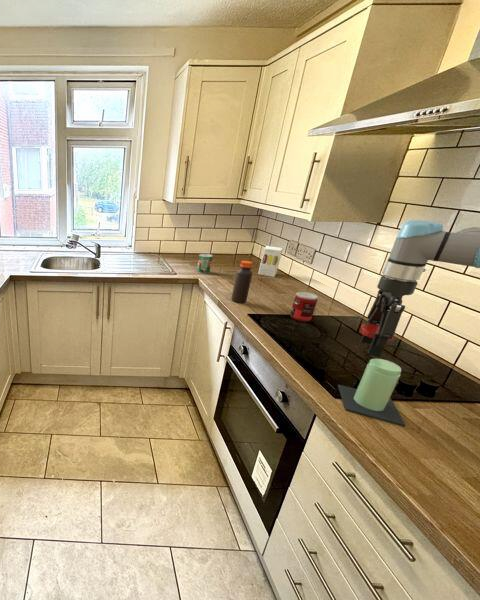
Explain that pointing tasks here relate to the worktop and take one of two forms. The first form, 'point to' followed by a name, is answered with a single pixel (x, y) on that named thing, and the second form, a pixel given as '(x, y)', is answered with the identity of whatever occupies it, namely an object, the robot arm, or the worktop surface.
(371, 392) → the jar
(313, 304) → the canned food
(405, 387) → the worktop surface
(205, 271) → the canned tomato
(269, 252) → the supplement box
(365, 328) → the lid
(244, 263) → the bottle
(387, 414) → the coaster
